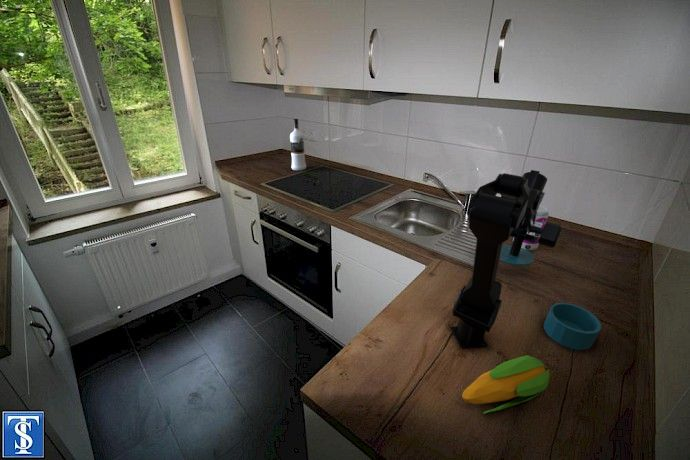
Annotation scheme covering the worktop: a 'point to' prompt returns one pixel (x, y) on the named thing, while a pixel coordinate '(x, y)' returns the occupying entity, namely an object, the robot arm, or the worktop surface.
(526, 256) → the lid
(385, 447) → the worktop surface
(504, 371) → the corn
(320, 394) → the worktop surface
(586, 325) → the pot
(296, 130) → the vodka
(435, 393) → the worktop surface
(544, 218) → the supplement can
